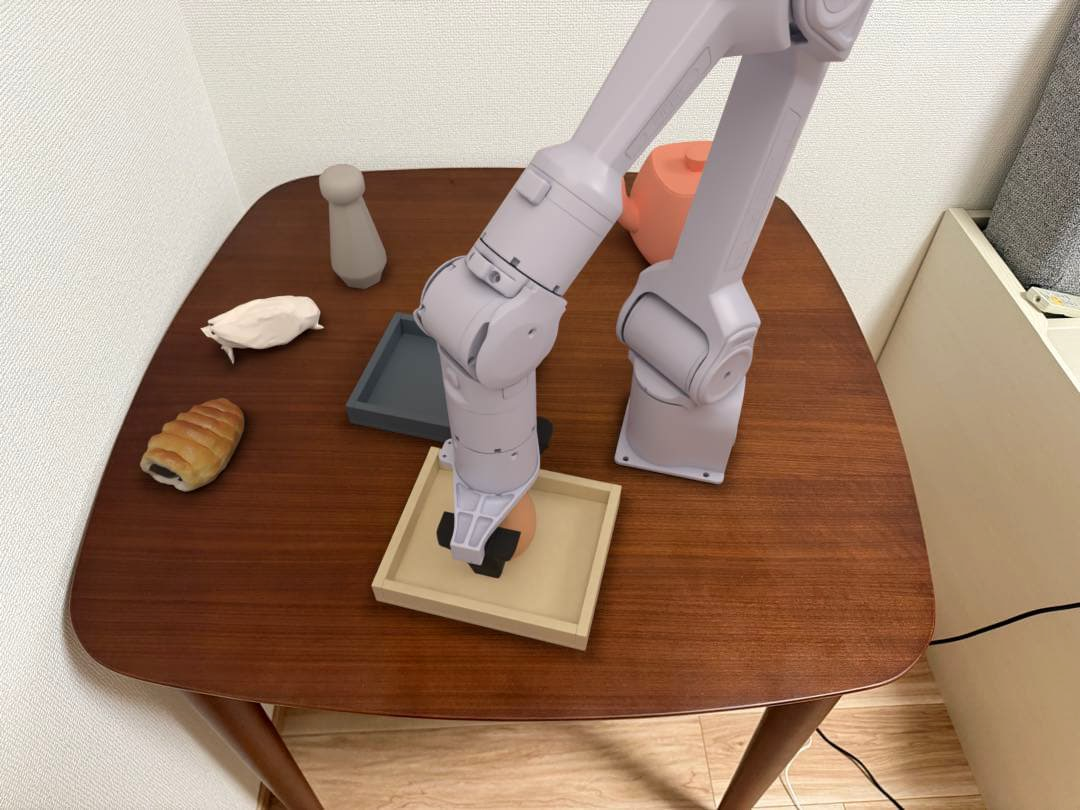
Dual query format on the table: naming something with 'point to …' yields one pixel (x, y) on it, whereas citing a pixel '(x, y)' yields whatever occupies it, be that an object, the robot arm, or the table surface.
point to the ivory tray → (526, 581)
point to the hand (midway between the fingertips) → (501, 529)
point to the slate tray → (403, 385)
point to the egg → (522, 523)
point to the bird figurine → (263, 323)
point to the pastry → (195, 445)
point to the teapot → (663, 197)
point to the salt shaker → (351, 228)
